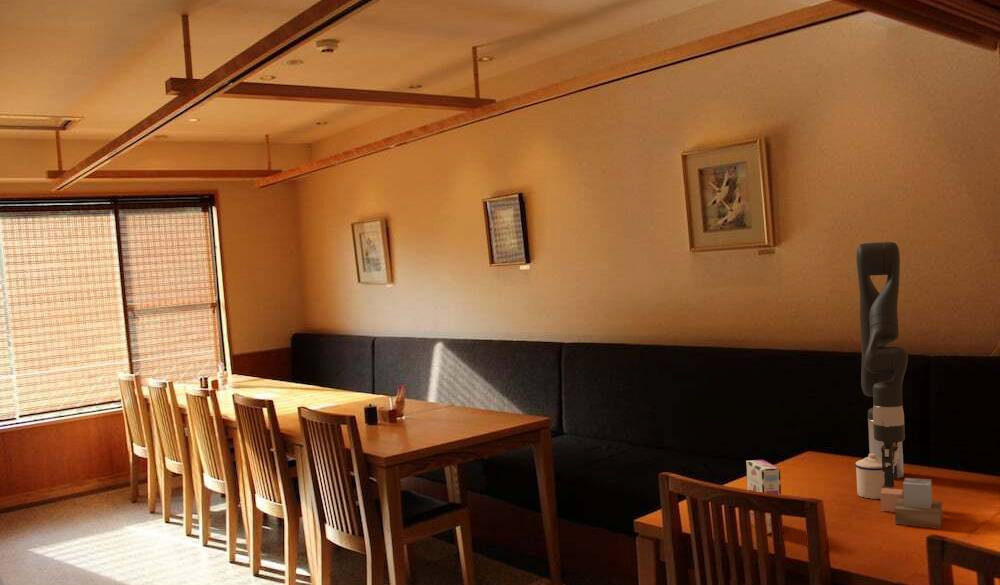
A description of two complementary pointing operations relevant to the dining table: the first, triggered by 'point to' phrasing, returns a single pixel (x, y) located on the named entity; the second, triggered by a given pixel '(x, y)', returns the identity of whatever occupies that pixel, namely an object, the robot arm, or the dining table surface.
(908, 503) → the slate block
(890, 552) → the dining table surface
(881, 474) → the teacup with lid
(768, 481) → the candy bar box
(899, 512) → the walnut plinth
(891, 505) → the terracotta block
